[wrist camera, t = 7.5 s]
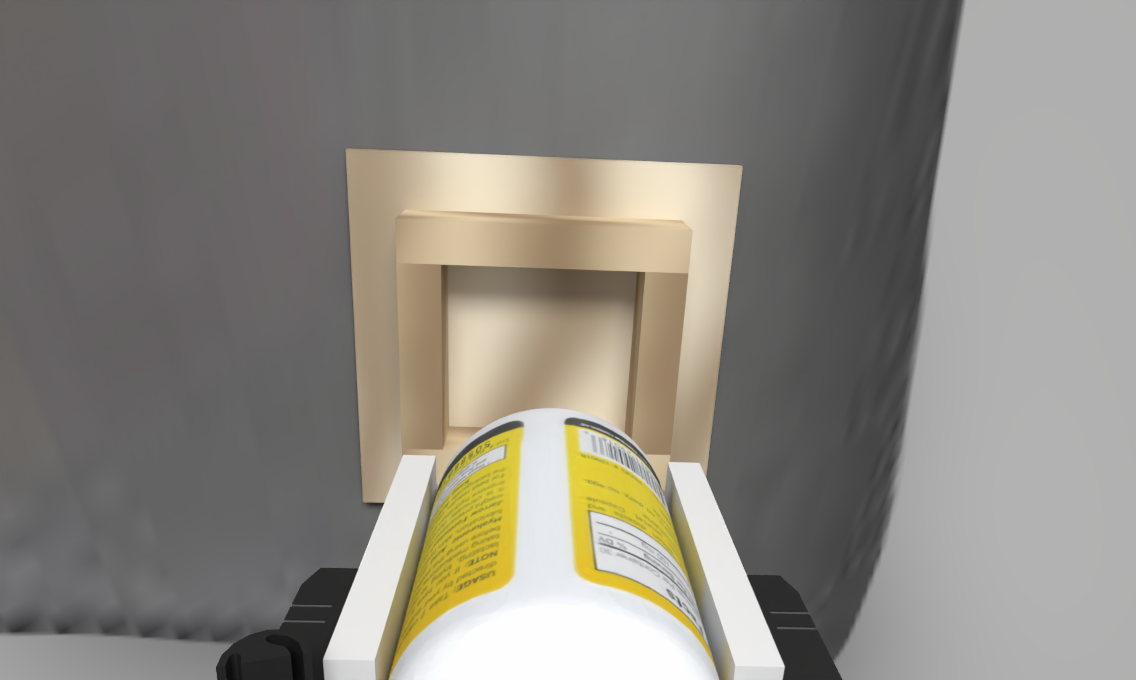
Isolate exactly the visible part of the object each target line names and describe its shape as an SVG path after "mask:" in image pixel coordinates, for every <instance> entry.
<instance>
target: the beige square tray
mask: <svg viewBox="0 0 1136 680" xmlns="http://www.w3.org/2000/svg"><path fill="white" fill-rule="evenodd" d="M346 164H347V185H348V205H349V225H350V246H351V266H352V286H353V307H354V327H355V347H356V368H357V388H358V408H359V429H360V449H361V469H362V490H363V502H376V503H385V500H386V498H387V495H388V492H389V490H390V487H391V485H392V482H393V480H394V477H395V475H396V472H397V469H398V467H399V464H400V462H401V459H402V457H403V455H429V456H436V493H437V489H438V486H439V483H440V481H441V478H442V476H443V474H444V471H445V469H446V467H447V466H448V464H449V462H450V461H451V459H452V457H453V456H454V455H455V453H456V452H457V451H458V449H459V448H460V447H461V446H462V445H463V444H464V443H465V442H466V441H467V440H468V439H469V438H470V437H471V436H473V435H474V434H475V433H476V432H478V431H479V430H481V429H482V428H484V427H485V426H487V425H489V424H490V423H492V422H494V421H496V420H498V419H500V418H503V417H505V416H508V415H510V414H514V413H517V412H522V411H526V410H532V409H541V408H561V409H569V410H575V411H580V412H584V413H587V414H590V415H593V416H596V417H599V418H601V419H603V420H605V421H607V422H609V423H610V424H612V425H614V426H615V427H617V428H618V429H620V430H621V431H622V432H624V433H625V434H626V435H628V436H629V437H630V438H631V439H632V440H633V441H634V442H635V443H636V444H637V445H638V446H639V448H640V449H641V450H642V451H643V452H644V454H645V455H646V457H647V458H648V460H649V461H650V463H651V465H652V467H653V469H654V471H655V473H656V475H657V477H658V479H659V482H660V485H661V488H662V491H663V495H665V485H666V475H667V465H668V462H687V463H700V465H701V467H702V470H703V472H704V475H705V477H706V473H707V464H708V456H709V448H710V439H711V431H712V422H713V414H714V405H715V397H716V388H717V380H718V371H719V363H720V355H721V346H722V338H723V329H724V321H725V312H726V304H727V295H728V287H729V278H730V270H731V261H732V253H733V245H734V236H735V228H736V219H737V211H738V202H739V194H740V185H741V177H742V168H743V167H742V166H740V165H721V164H698V163H675V162H652V161H629V160H606V159H582V158H559V157H536V156H513V155H490V154H467V153H444V152H421V151H398V150H374V149H351V148H349V149H346Z"/></svg>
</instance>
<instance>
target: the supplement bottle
mask: <svg viewBox="0 0 1136 680" xmlns="http://www.w3.org/2000/svg"><path fill="white" fill-rule="evenodd" d="M388 680H719V677H718V673H717V670H716V666H715V663H714V660H713V657H712V653H711V650H710V647H709V644H708V641H707V637H706V633H705V630H704V628H703V624H702V620H701V617H700V614H699V611H698V608H697V604H696V600H695V597H694V593H693V590H692V587H691V583H690V580H689V577H688V573H687V570H686V567H685V564H684V560H683V557H682V553H681V550H680V546H679V543H678V540H677V537H676V534H675V530H674V527H673V524H672V520H671V517H670V514H669V511H668V507H667V504H666V501H665V498H664V495H663V491H662V488H661V485H660V482H659V479H658V477H657V475H656V473H655V471H654V469H653V467H652V465H651V463H650V461H649V460H648V458H647V457H646V455H645V454H644V452H643V451H642V450H641V449H640V448H639V446H638V445H637V444H636V443H635V442H634V441H633V440H632V439H631V438H630V437H629V436H628V435H626V434H625V433H624V432H622V431H621V430H620V429H618V428H617V427H615V426H614V425H612V424H610V423H609V422H607V421H605V420H603V419H601V418H599V417H596V416H593V415H590V414H587V413H584V412H580V411H575V410H569V409H561V408H541V409H532V410H526V411H522V412H517V413H514V414H510V415H508V416H505V417H503V418H500V419H498V420H496V421H494V422H492V423H490V424H489V425H487V426H485V427H484V428H482V429H481V430H479V431H478V432H476V433H475V434H474V435H473V436H471V437H470V438H469V439H468V440H467V441H466V442H465V443H464V444H463V445H462V446H461V447H460V448H459V449H458V451H457V452H456V453H455V455H454V456H453V457H452V459H451V461H450V462H449V464H448V466H447V467H446V469H445V471H444V474H443V476H442V478H441V481H440V483H439V486H438V489H437V493H436V496H435V499H434V503H433V507H432V511H431V515H430V519H429V524H428V528H427V532H426V536H425V541H424V545H423V549H422V552H421V557H420V561H419V564H418V568H417V572H416V577H415V580H414V584H413V588H412V592H411V595H410V600H409V604H408V608H407V612H406V616H405V619H404V623H403V627H402V630H401V634H400V638H399V642H398V645H397V649H396V652H395V656H394V660H393V664H392V667H391V671H390V675H389V678H388Z"/></svg>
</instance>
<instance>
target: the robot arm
mask: <svg viewBox="0 0 1136 680" xmlns="http://www.w3.org/2000/svg"><path fill="white" fill-rule="evenodd" d="M435 496H436V456H429V455H403V457H402V459H401V462H400V464H399V467H398V469H397V472H396V475H395V477H394V480H393V482H392V485H391V487H390V490H389V492H388V495H387V498H386V500H385V503H384V505H383V508H382V510H381V513H380V515H379V518H378V521H377V523H376V526H375V528H374V531H373V533H372V536H371V538H370V541H369V543H368V546H367V549H366V551H365V554H364V556H363V559H362V561H361V564H360V566H359V569H353V568H320V569H319V570H318V571H317V572H315V573H314V574H313V575H312V576H311V577H310V578H308V579H307V580H306V581H305V582H304V583H303V584H302V585H301V587H300V589H299V591H298V593H297V595H296V597H295V599H294V601H293V603H292V607H290V609H289V611H288V613H287V615H286V617H285V621H284V623H282V625H281V627H280V629H279V630H265V631H262V632H258V633H255V634H251V635H249V636H247V637H245V638H243V639H241V640H239V641H238V642H236V643H234V644H233V645H232V646H231V647H230V648H229V649H228V650H227V651H225V652H224V653H223V654H222V656H221V658H220V660H219V662H218V664H217V666H216V672H217V679H218V680H388V678H389V675H390V671H391V667H392V664H393V660H394V656H395V652H396V649H397V645H398V642H399V638H400V634H401V630H402V627H403V623H404V619H405V616H406V612H407V608H408V604H409V600H410V595H411V592H412V588H413V584H414V580H415V577H416V572H417V568H418V564H419V561H420V557H421V552H422V549H423V545H424V541H425V536H426V532H427V528H428V524H429V519H430V515H431V511H432V507H433V503H434V499H435ZM664 498H665V501H666V504H667V507H668V511H669V514H670V517H671V520H672V524H673V527H674V530H675V534H676V537H677V540H678V543H679V546H680V550H681V553H682V557H683V560H684V564H685V567H686V570H687V573H688V577H689V580H690V583H691V587H692V590H693V593H694V597H695V600H696V604H697V608H698V611H699V614H700V617H701V620H702V624H703V628H704V630H705V633H706V637H707V641H708V644H709V647H710V650H711V653H712V657H713V660H714V663H715V666H716V670H717V673H718V677H719V680H842V678H841V676H840V674H839V672H838V670H837V668H836V666H835V664H834V662H833V660H832V658H831V656H830V654H829V652H828V650H827V648H826V646H825V644H824V642H823V640H822V638H821V636H820V634H819V632H818V630H816V629H815V625H814V623H813V621H812V619H811V617H810V615H808V611H807V609H806V607H805V605H804V603H803V601H802V599H801V597H800V595H799V593H798V592H797V591H796V590H795V589H794V588H793V587H792V586H791V585H790V584H788V583H787V582H786V581H785V580H784V579H783V578H782V577H781V576H776V575H746V573H745V570H744V568H743V566H742V563H741V561H740V558H739V556H738V554H737V551H736V549H735V546H734V544H733V542H732V539H731V537H730V534H729V532H728V530H727V527H726V525H725V522H724V520H723V518H722V515H721V513H720V510H719V508H718V506H717V503H716V501H715V499H714V496H713V494H712V491H711V489H710V487H709V484H708V482H707V479H706V477H705V475H704V472H703V470H702V467H701V465H700V463H687V462H668V465H667V475H666V485H665V495H664Z"/></svg>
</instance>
